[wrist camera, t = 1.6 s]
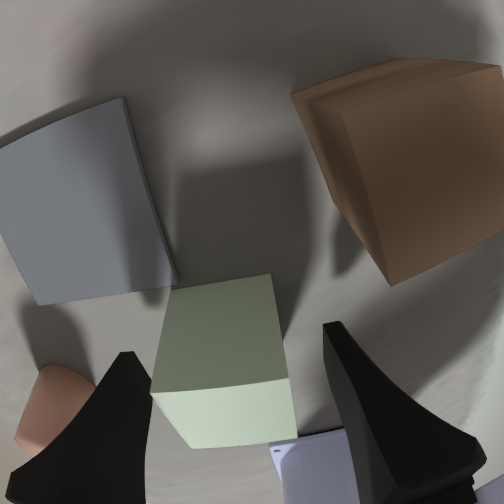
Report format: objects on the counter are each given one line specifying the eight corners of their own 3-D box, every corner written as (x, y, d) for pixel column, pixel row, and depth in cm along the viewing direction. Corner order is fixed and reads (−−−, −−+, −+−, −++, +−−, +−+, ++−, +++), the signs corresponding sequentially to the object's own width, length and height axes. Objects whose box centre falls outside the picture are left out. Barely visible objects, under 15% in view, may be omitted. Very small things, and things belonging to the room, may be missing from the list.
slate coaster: (178, 278, 12) (177, 284, 12) (42, 300, 13) (38, 305, 12) (124, 96, 9) (120, 97, 8) (-21, 160, 9) (-27, 163, 9)
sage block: (282, 342, 15) (297, 437, 10) (197, 354, 15) (191, 448, 10) (270, 272, 13) (288, 377, 8) (170, 289, 13) (149, 393, 8)
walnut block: (426, 162, 10) (516, 222, 6) (332, 200, 11) (391, 287, 7) (397, 58, 9) (500, 65, 4) (289, 94, 9) (340, 114, 5)
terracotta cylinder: (109, 404, 17) (94, 474, 13) (62, 403, 17) (43, 465, 13) (77, 364, 15) (51, 441, 11) (28, 364, 15) (0, 430, 11)
